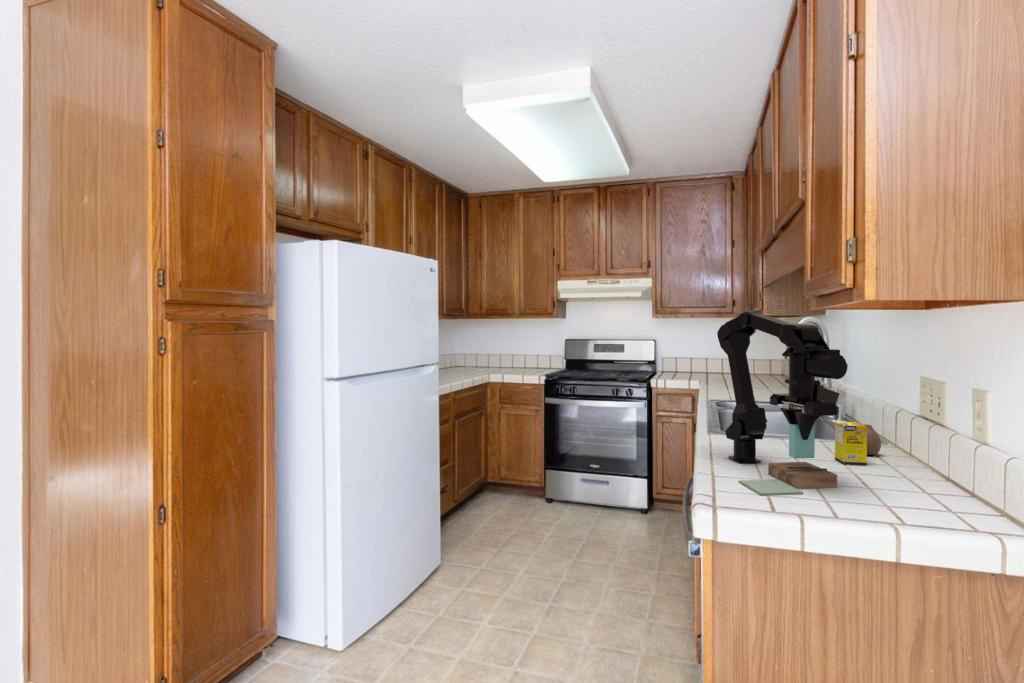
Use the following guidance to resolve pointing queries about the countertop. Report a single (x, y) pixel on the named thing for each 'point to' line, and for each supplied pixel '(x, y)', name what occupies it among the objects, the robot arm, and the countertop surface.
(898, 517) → the countertop surface
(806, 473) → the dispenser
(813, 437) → the tall teal box
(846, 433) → the supplement box
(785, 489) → the mat
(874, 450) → the vase
